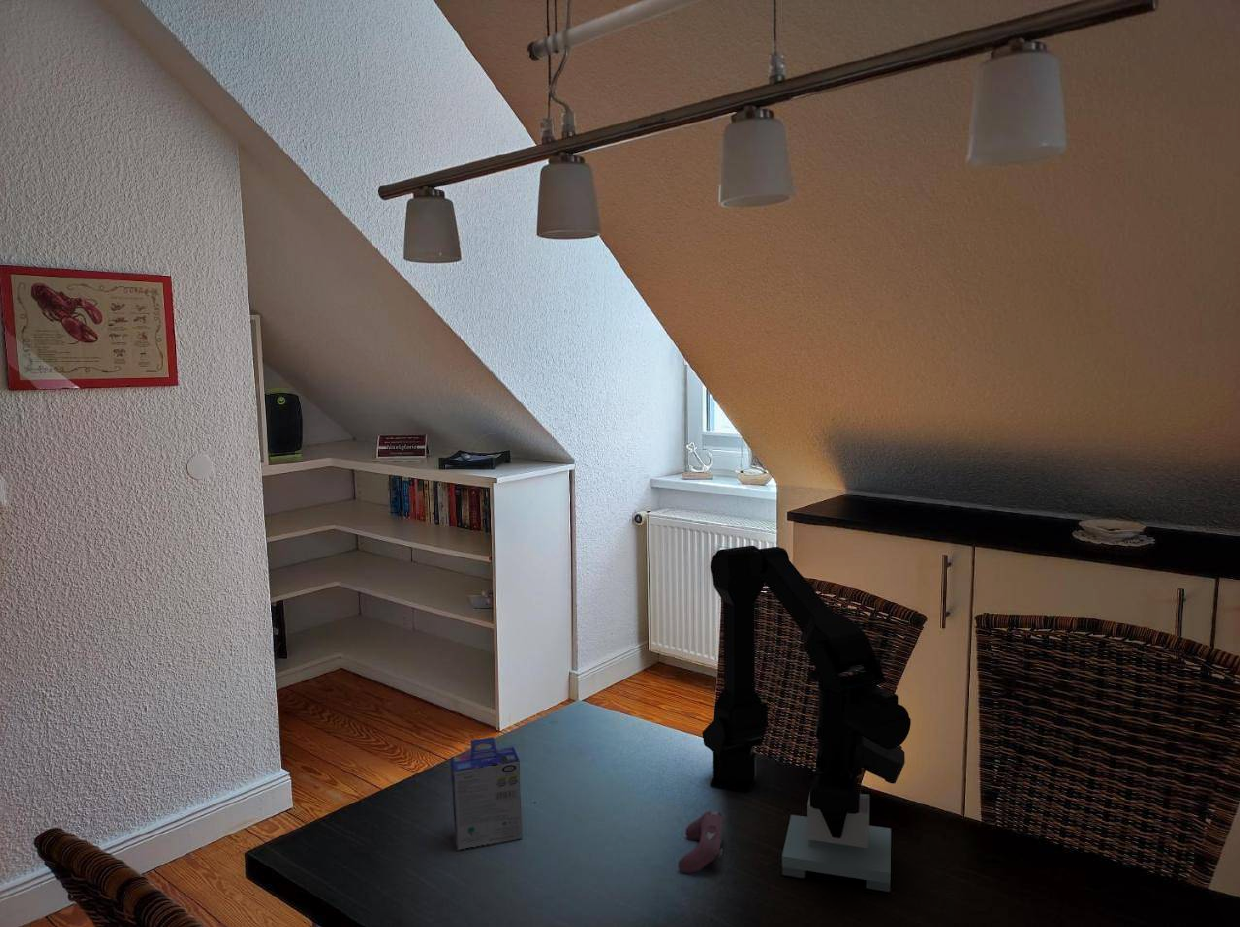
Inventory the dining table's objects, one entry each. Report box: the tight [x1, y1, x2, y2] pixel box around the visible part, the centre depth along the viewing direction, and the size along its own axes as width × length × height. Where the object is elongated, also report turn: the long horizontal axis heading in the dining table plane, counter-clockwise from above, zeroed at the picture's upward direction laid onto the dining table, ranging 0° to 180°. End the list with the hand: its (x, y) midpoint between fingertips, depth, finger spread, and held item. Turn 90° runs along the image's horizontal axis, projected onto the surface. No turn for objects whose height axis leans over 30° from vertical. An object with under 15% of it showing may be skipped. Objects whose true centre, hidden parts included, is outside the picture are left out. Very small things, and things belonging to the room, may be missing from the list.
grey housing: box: [806, 792, 870, 848], centre depth 119 cm, size 5×8×6 cm, turn 72°
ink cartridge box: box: [449, 737, 524, 851], centre depth 128 cm, size 10×6×14 cm, turn 108°
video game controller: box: [678, 809, 726, 874], centre depth 122 cm, size 10×5×7 cm, turn 169°
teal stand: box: [781, 814, 892, 893], centre depth 120 cm, size 14×11×3 cm
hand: (837, 826), depth 120 cm, fingers closed on grey housing, 5 cm apart
